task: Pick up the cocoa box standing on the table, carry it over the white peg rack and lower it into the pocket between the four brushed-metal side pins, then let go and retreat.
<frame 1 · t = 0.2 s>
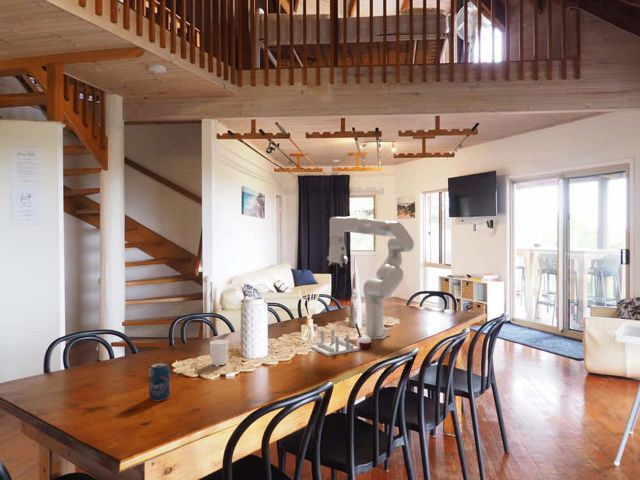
hand: (337, 274, 227), 36 cm above the table, tool pointing down, fingers open, 9 cm apart
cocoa: (364, 349, 217), on the table
soda can: (159, 398, 157), on the table
white peg rack: (334, 349, 217), on the table
white cup: (219, 364, 195), on the table
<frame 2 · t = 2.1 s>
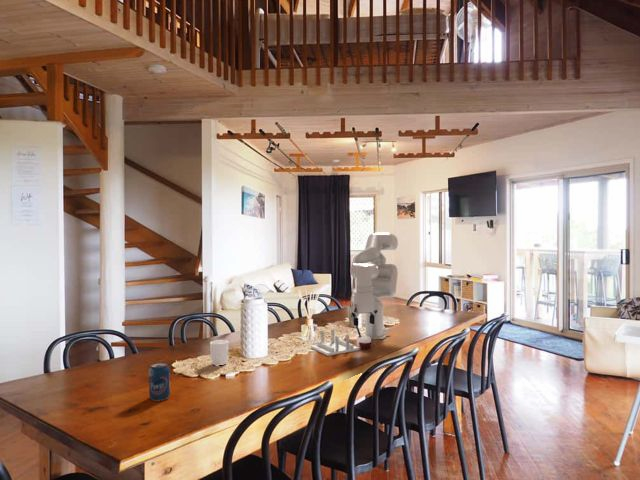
hand: (364, 324, 216), 12 cm above the table, tool pointing down, fingers open, 9 cm apart
nothing on the table moved.
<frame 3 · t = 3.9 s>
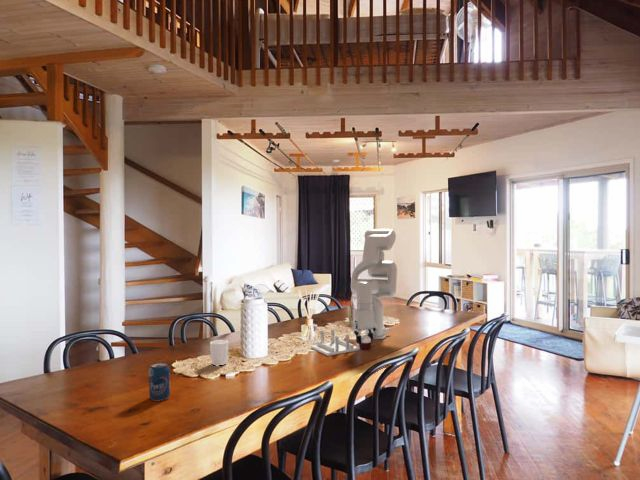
hand: (364, 342, 217), 3 cm above the table, tool pointing down, fingers closed on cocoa, 6 cm apart
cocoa: (364, 348, 217), on the table, touching gripper
everything else where it was.
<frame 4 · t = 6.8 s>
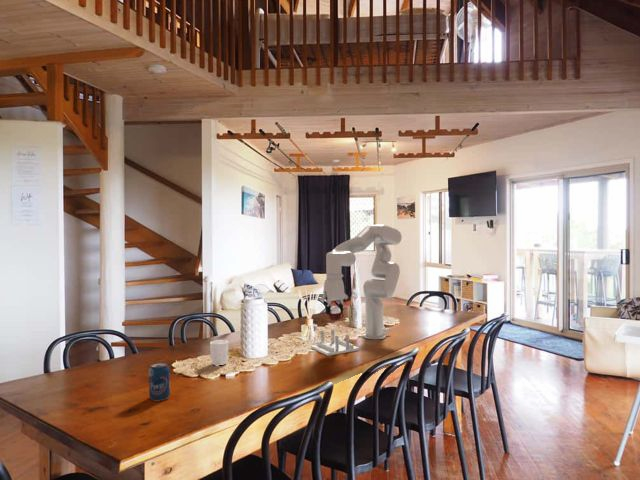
hand: (334, 313, 216), 18 cm above the table, tool pointing down, fingers closed on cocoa, 6 cm apart
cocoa: (334, 319, 216), point 15 cm above the table, touching gripper
everything else where it was.
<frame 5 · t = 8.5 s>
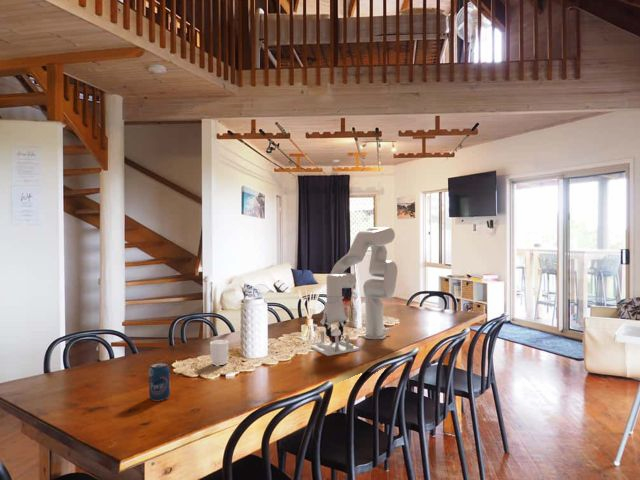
hand: (334, 335, 217), 7 cm above the table, tool pointing down, fingers closed on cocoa, 6 cm apart
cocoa: (334, 342, 216), point 4 cm above the table, touching gripper
everything else where it was.
when the fingers open (6 cm above the table, at t = 9.7 s): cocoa drops 1 cm, resting on white peg rack.
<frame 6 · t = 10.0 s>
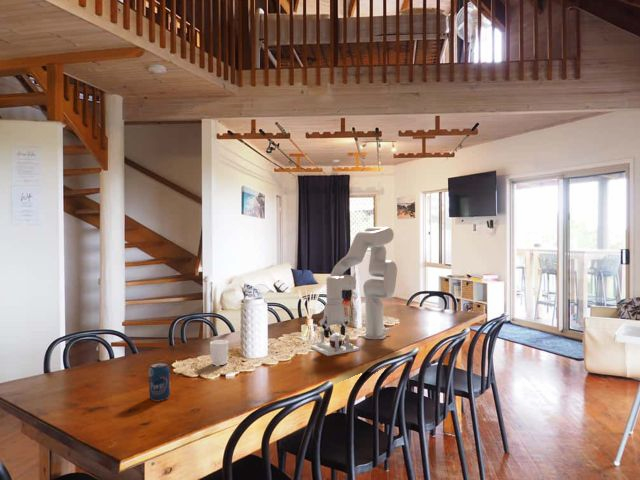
hand: (334, 336, 217), 6 cm above the table, tool pointing down, fingers open, 9 cm apart
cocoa: (335, 347, 217), point 1 cm above the table, touching white peg rack
everything else where it was.
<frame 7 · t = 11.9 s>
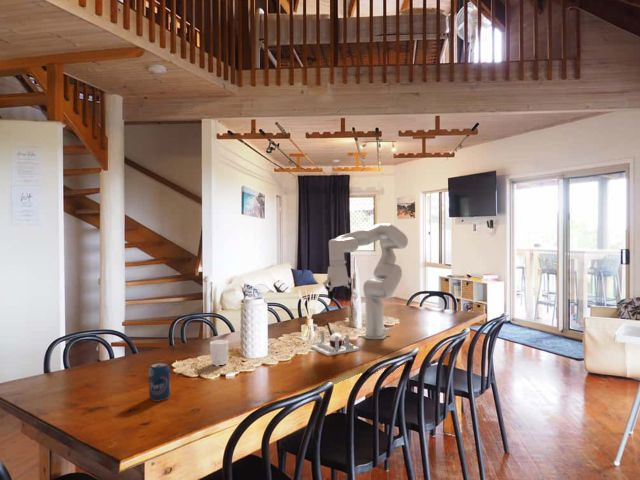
hand: (338, 297, 221), 25 cm above the table, tool pointing down, fingers open, 9 cm apart
nothing on the table moved.
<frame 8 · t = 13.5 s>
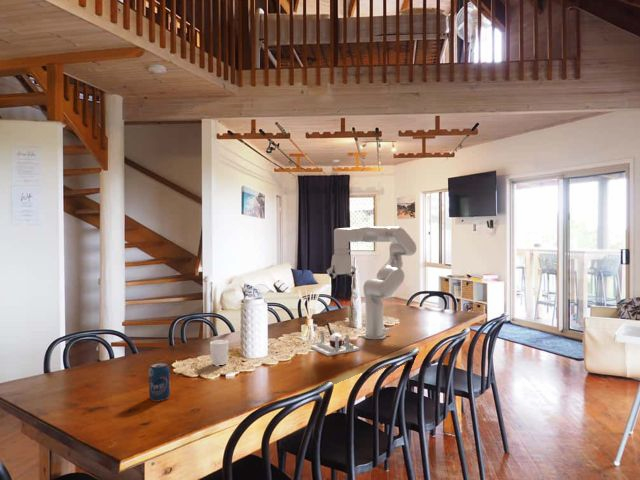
hand: (341, 285, 227), 30 cm above the table, tool pointing down, fingers open, 9 cm apart
nothing on the table moved.
at the end: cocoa inside the target area on the white peg rack (0.3 cm from its centre), point 1.0 cm above the white peg rack's base; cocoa tilted 0°; the gripper is holding nothing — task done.
